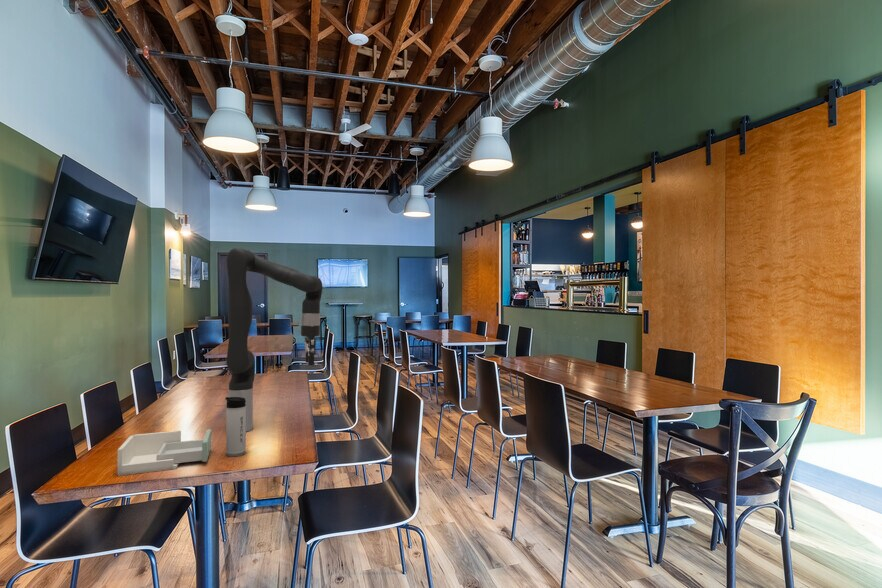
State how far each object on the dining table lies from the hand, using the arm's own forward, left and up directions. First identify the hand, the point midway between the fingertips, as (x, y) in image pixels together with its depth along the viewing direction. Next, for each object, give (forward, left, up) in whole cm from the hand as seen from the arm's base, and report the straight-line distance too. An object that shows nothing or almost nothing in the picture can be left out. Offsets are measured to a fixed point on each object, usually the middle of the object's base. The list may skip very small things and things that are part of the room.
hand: (309, 363), depth 192 cm
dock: (-52, -19, -28) cm, 62 cm away
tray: (-43, -19, -26) cm, 54 cm away
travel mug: (-27, -19, -28) cm, 43 cm away
